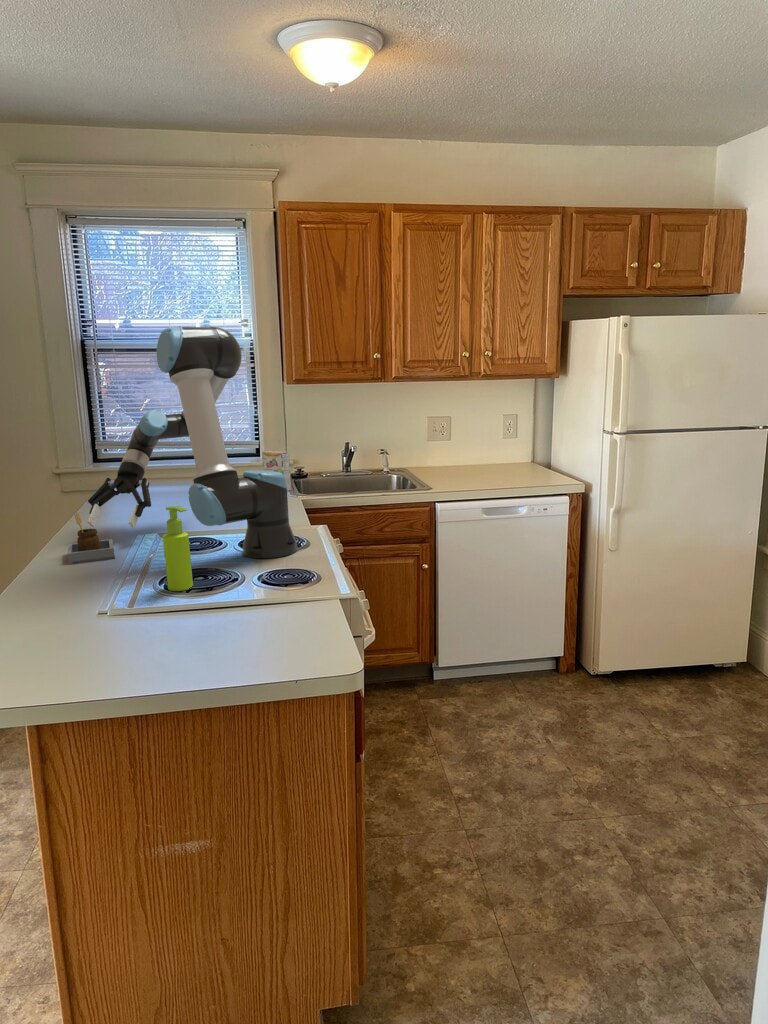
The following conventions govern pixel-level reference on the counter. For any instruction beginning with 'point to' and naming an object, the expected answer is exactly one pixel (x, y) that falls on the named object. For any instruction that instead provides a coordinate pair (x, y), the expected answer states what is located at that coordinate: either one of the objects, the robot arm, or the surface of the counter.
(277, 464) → the candy bar box
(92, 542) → the utensil holder
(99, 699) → the counter surface
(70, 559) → the tray
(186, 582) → the soap dispenser
